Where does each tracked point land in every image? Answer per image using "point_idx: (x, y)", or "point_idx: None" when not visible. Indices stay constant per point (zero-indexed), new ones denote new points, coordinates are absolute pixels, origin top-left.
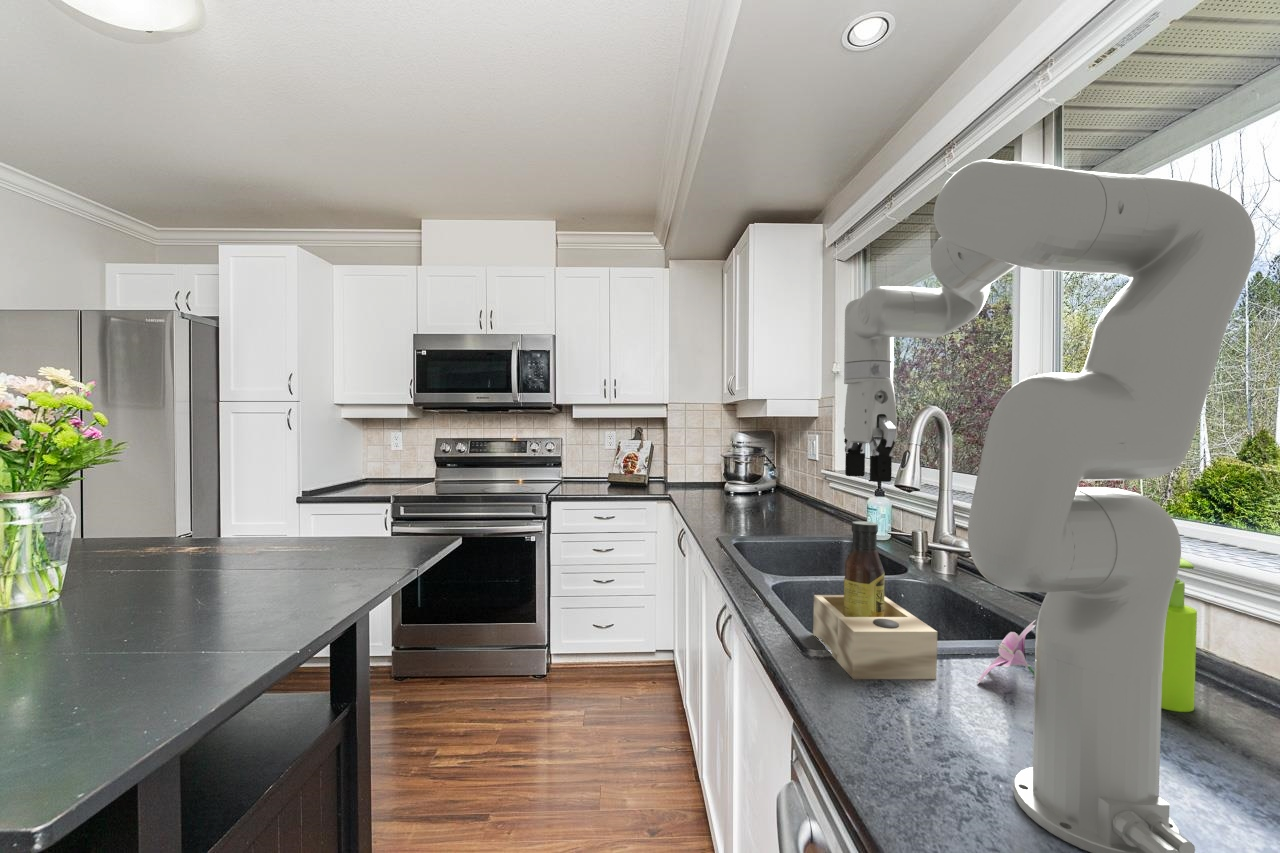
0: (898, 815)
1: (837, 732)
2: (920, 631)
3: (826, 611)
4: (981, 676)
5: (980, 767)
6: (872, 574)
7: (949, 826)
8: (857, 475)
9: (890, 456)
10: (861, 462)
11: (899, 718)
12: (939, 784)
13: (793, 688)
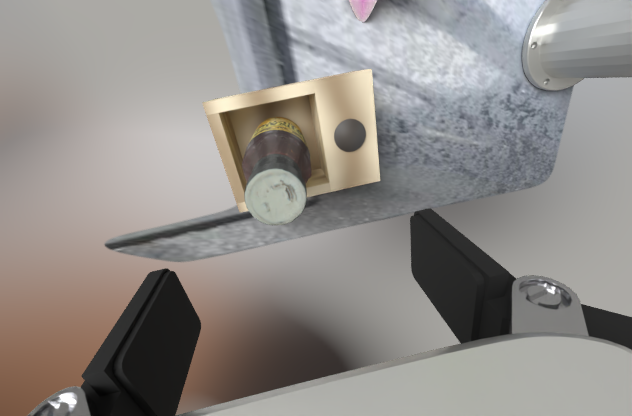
0: (534, 170)
1: (451, 191)
2: (372, 94)
3: None
4: (355, 9)
5: (502, 96)
6: (309, 157)
7: (548, 143)
8: (185, 293)
9: (504, 276)
10: (154, 330)
11: (433, 139)
12: (514, 135)
13: (384, 217)
